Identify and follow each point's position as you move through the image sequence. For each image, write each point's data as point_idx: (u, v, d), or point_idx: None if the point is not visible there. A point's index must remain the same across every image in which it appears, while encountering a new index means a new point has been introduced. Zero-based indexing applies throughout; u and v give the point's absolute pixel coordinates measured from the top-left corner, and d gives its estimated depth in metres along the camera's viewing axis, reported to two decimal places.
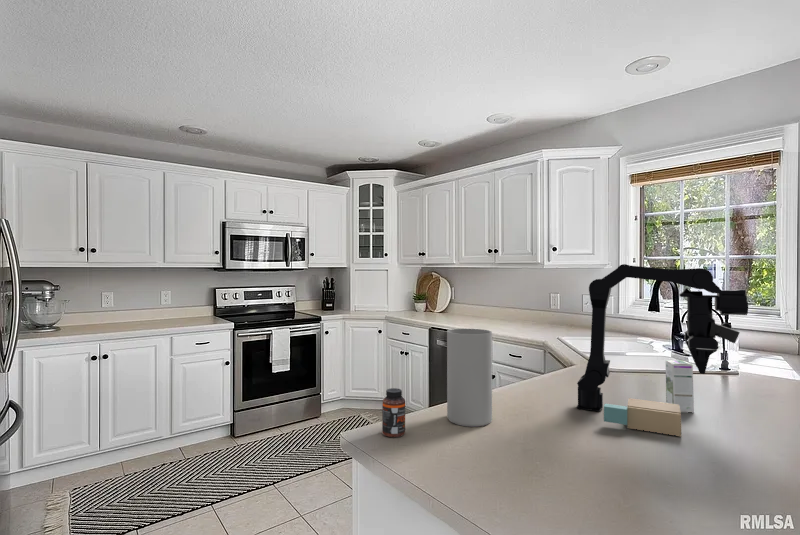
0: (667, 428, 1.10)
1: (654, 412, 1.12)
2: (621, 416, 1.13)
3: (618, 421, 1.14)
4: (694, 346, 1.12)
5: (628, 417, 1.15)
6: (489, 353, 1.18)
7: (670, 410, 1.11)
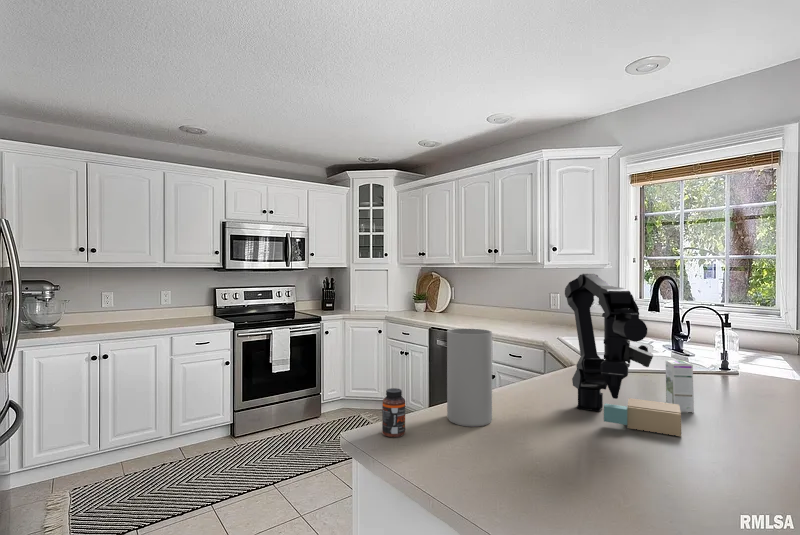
0: (667, 428, 1.10)
1: (654, 412, 1.12)
2: (621, 416, 1.13)
3: (618, 421, 1.14)
4: (605, 371, 1.08)
5: (628, 417, 1.15)
6: (489, 353, 1.18)
7: (670, 410, 1.11)
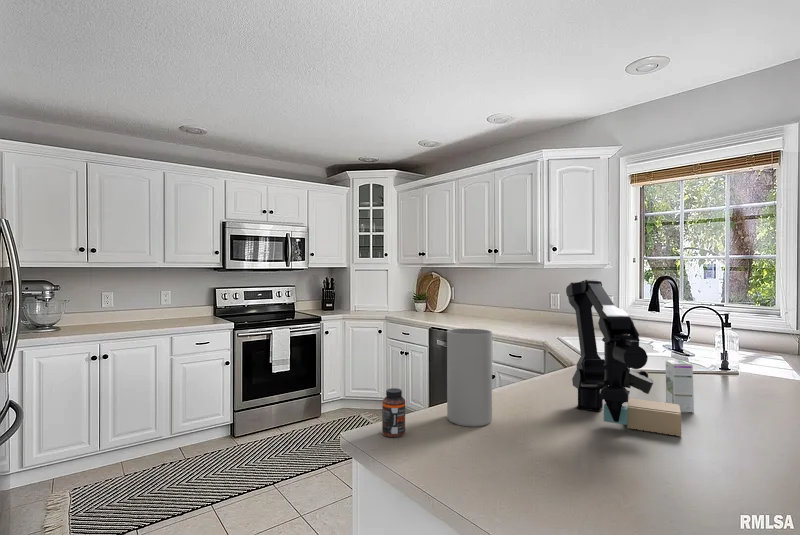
0: (667, 428, 1.10)
1: (654, 412, 1.12)
2: (621, 416, 1.13)
3: None
4: (605, 398, 1.08)
5: (628, 417, 1.15)
6: (489, 353, 1.18)
7: (670, 410, 1.11)
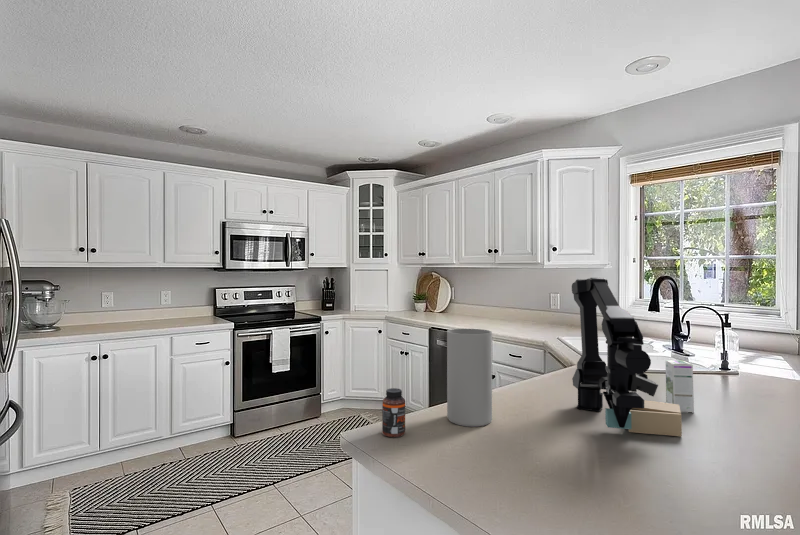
0: (668, 429, 1.09)
1: (655, 414, 1.10)
2: None
3: None
4: (621, 405, 1.03)
5: None
6: (489, 353, 1.18)
7: (670, 410, 1.11)
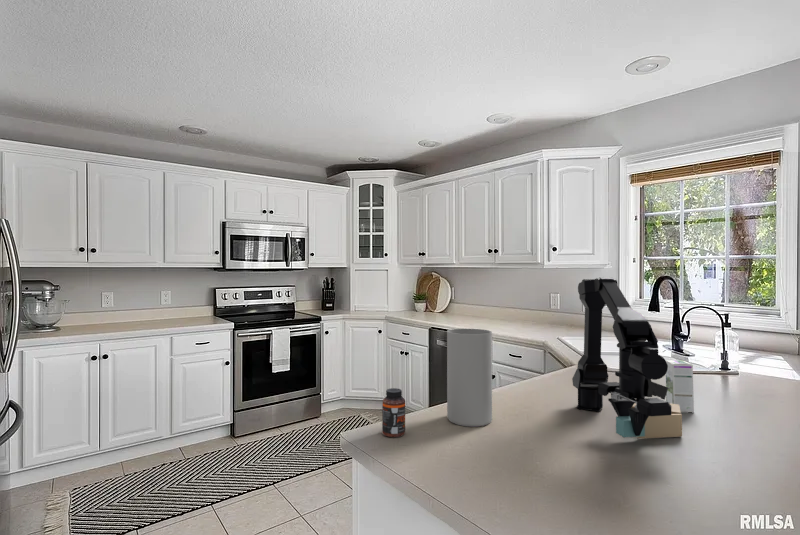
0: (671, 431, 1.08)
1: (661, 417, 1.08)
2: None
3: None
4: (653, 414, 0.96)
5: None
6: (489, 353, 1.18)
7: None
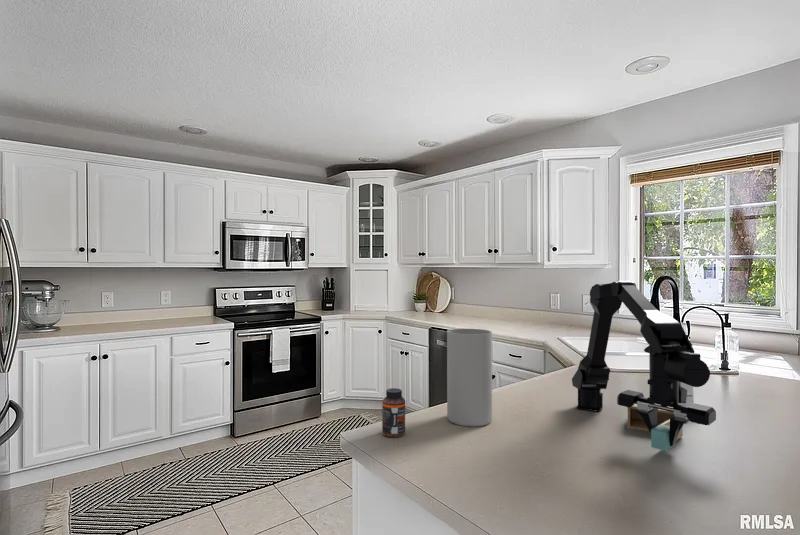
0: None
1: None
2: None
3: None
4: (709, 422, 0.91)
5: None
6: (489, 353, 1.18)
7: None
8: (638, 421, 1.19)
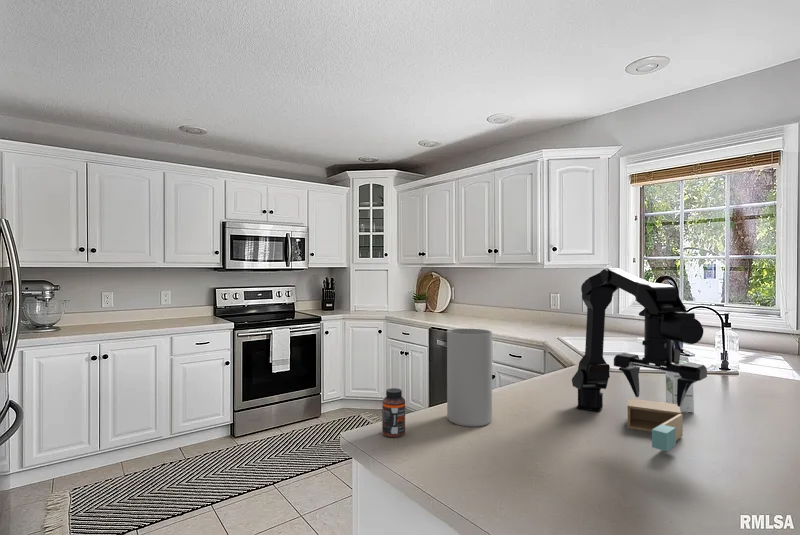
0: (678, 433, 1.07)
1: (674, 421, 1.05)
2: (673, 437, 0.98)
3: (672, 444, 0.98)
4: (700, 378, 0.96)
5: None
6: (489, 353, 1.18)
7: (670, 410, 1.11)
8: (638, 421, 1.19)
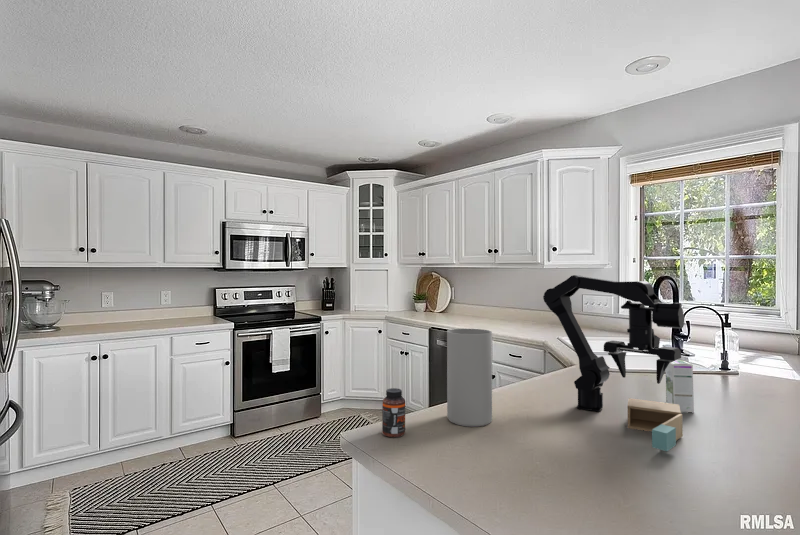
0: (678, 433, 1.07)
1: (674, 421, 1.05)
2: (673, 437, 0.98)
3: (672, 444, 0.98)
4: (675, 358, 1.14)
5: None
6: (489, 353, 1.18)
7: (670, 410, 1.11)
8: (638, 421, 1.19)
